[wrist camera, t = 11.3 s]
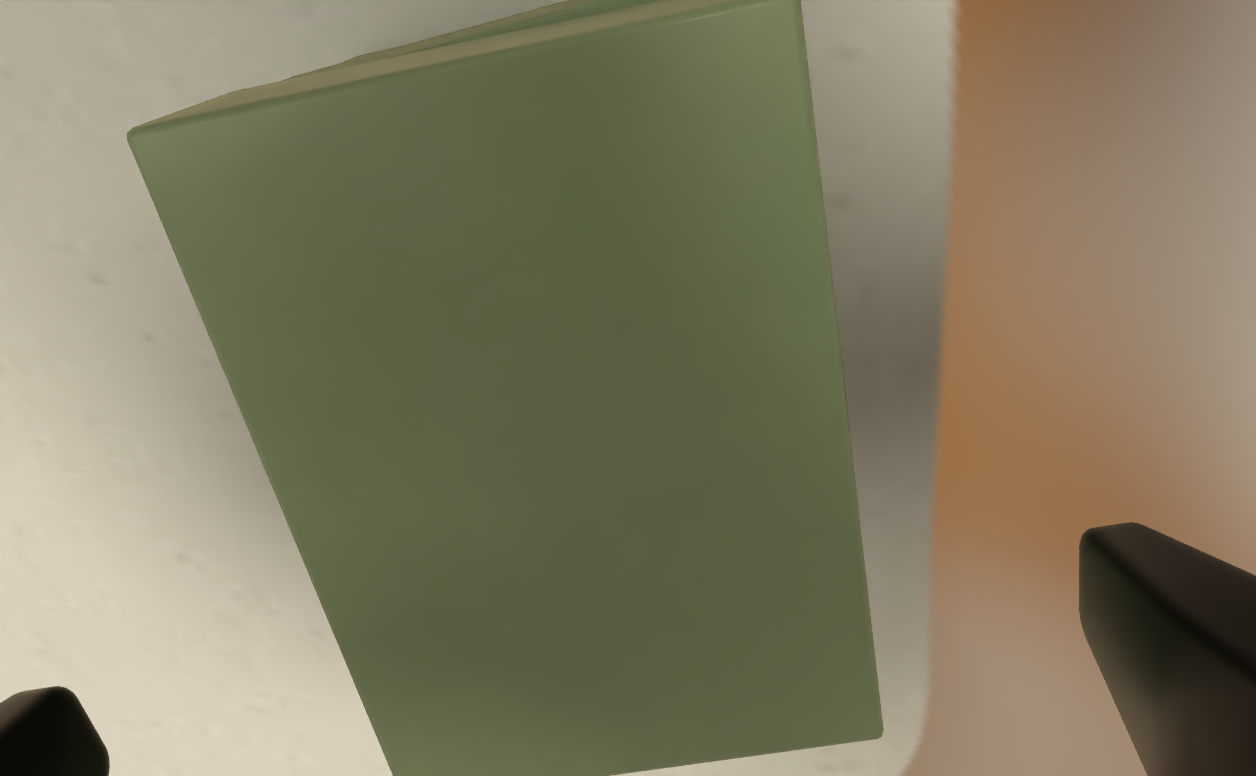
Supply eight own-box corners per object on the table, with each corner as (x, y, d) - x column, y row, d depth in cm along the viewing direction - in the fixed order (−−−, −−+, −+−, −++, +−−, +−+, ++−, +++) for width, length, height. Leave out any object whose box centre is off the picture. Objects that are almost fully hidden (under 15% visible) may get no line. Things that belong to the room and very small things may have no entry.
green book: (440, 670, 15) (403, 807, 13) (228, 92, 11) (119, 131, 9) (845, 609, 14) (885, 741, 12) (765, -23, 11) (800, -15, 8)
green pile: (482, 503, 20) (432, 679, 15) (336, 36, 16) (207, 75, 11) (809, 449, 19) (864, 614, 14) (742, -52, 15) (787, -50, 10)
